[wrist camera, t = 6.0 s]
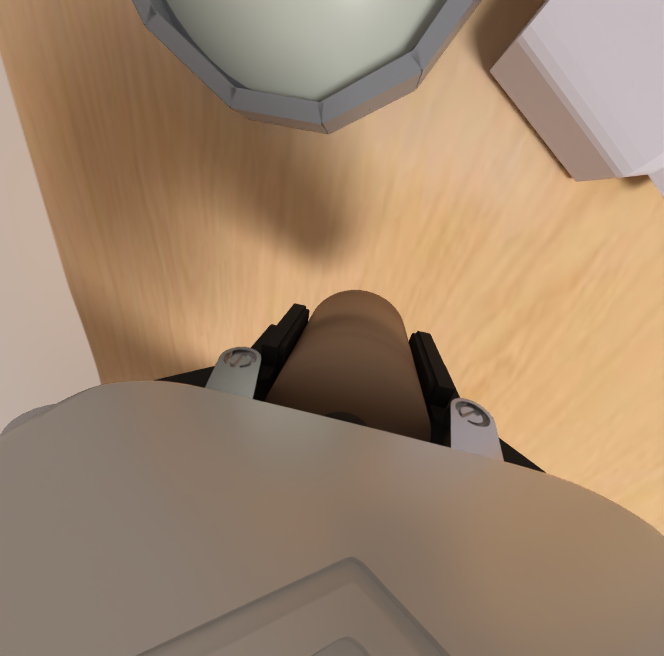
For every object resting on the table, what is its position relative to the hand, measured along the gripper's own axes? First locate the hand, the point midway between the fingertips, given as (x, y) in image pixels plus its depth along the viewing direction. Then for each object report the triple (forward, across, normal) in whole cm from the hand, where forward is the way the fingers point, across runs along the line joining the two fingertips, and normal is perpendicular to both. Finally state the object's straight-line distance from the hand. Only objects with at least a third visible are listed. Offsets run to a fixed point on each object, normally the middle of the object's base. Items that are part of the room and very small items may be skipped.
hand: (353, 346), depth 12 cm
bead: (+1, 0, 0) cm, 1 cm away
